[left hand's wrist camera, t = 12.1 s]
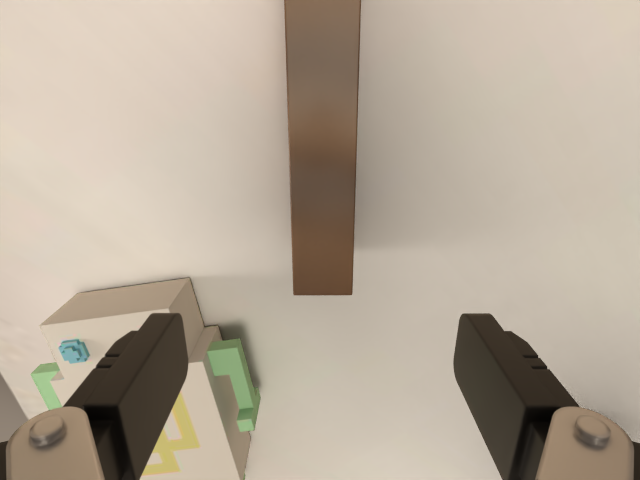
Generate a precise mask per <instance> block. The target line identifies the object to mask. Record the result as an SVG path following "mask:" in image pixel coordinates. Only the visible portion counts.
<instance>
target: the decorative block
mask: <svg viewBox="0 0 640 480" xmlns="http://www.w3.org/2000/svg"><path fill="white" fill-rule="evenodd" d="M152 313H180V314H181V316H182V319H183V325H184V332H185V339H186V346H187V352H188V372H187V377H186V380H185V382H184V384H183V386H182V389H181V391H180V393H179V395H178V397H177V399H176V402H175V404H174V406H173V408H172V410H171V413H170V415H169V417H168V419H167V421H166V423H165V426H164V428H163V430H162V432H161V434H160V436H159V439H158V441H157V443H156V445H155V447H154V449H153V452H152V454H151V456H150V458H149V460H148V463H147V465H146V467H145V469H144V471H143V473H142V476H141V478H140V480H245V467H246V462H247V457H248V452H249V446H250V441H251V438H250V434H249V431H252V430H255V424H256V419H257V414H258V409H259V404H260V398H261V397H260V393H259V389H258V387H254V388H253V385H252V381H251V377H250V373H249V370H248V366H247V362H246V359H245V355H244V351H243V347H242V344H241V340H240V338H239V339H231V340H224V341H222V337H221V334H220V330H219V327H218V325H217V326H210V327H204V324H203V321H202V317H201V314H200V311H199V307H198V304H197V301H196V298H195V294H194V291H193V288H192V284H191V281H190V278H184V279H176V280H169V281H162V282H155V283H148V284H141V285H134V286H127V287H119V288H112V289H105V290H98V291H91V292H84V293H77V294H76V295H75V296H74V297H73V298H71V299H70V300H69V301H68V302H67V303H65V304H64V305H63V306H62V307H61V308H60V309H58V310H57V311H56V312H55V313H54V314H53V315H51V316H50V317H49V318H48V319H47V320H45V321H44V322H43V323H42V324H41V325H40V326H39V327H40V329H41V331H42V333H43V335H44V337H45V339H46V341H47V344H48V346H49V348H50V350H51V352H52V354H53V356H54V358H55V360H56V362H55V363H48V364H40V365H39V366H38V367H37V368H36V369H35V370H34V371H33V372H32V373H31V376H32V378H33V380H34V382H35V384H36V386H37V388H38V390H39V392H40V394H41V396H42V398H43V399H44V401H45V403H46V405H47V407H48V409H49V410H52V409H55V408H60V407H63V406H64V404H65V403H66V402H67V401H68V399H69V398H70V397H71V396H72V395H73V393H74V392H75V391H76V390H77V388H78V387H79V386H80V385H81V383H82V382H83V381H84V380H85V378H86V377H87V376H88V375H89V373H90V372H91V371H92V370H93V368H96V365H97V364H98V362H99V361H100V360H101V359H102V357H105V354H106V352H107V351H108V350H109V349H110V347H111V346H112V345H113V344H114V342H115V341H117V340H118V339H120V338H121V337H123V336H124V335H126V334H127V333H129V332H130V331H138V330H139V329H140V327H141V326H142V325H143V323H144V322H145V321H146V319H147V318H148V317H149V315H150V314H152Z"/></svg>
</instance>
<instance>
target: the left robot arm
mask: <svg viewBox="0 0 640 480" xmlns="http://www.w3.org/2000/svg"><path fill="white" fill-rule="evenodd" d="M187 372H188V352H187V346H186V339H185V332H184V325H183V319H182V316H181V314H180V313H152V314H150V315H149V317H148V318H147V319H146V321H145V322H144V323H143V325H142V326H141V327H140V329H139V330H138V331H130V332H129V333H127V334H126V335H124V336H123V337H121V338H120V339H118V340H117V341H115V342H114V344H113V345H112V346H111V347H110V349H109V350H108V351H107V352H106V354H105V357H102V359H101V360H100V361H99V362H98V364H97V365H96V368H93V370H92V371H91V372H90V373H89V375H88V376H87V377H86V378H85V380H84V381H83V382H82V383H81V385H80V386H79V387H78V388H77V390H76V391H75V392H74V393H73V395H72V396H71V397H70V398H69V399H68V401H67V402H66V403H65V404H64V406H63V407H60V408H55V409H52V410H49V411H46V412H43V413H41V414H39V415H37V416H35V417H33V418H32V419H30V420H29V421H27V422H26V423H24V424H23V425H22V426H20V427H19V428H18V429H17V430H16V431H15V432H14V434H13V435H12V436H11V438H10V439H9V441H5V442H1V443H0V480H140V478H141V476H142V473H143V471H144V469H145V467H146V465H147V463H148V460H149V458H150V456H151V454H152V452H153V449H154V447H155V445H156V443H157V441H158V439H159V436H160V434H161V432H162V430H163V428H164V426H165V423H166V421H167V419H168V417H169V415H170V413H171V410H172V408H173V406H174V404H175V402H176V399H177V397H178V395H179V393H180V391H181V389H182V386H183V384H184V382H185V380H186V377H187ZM454 373H455V377H456V380H457V383H458V385H459V387H460V389H461V391H462V394H463V396H464V398H465V400H466V402H467V404H468V406H469V409H470V411H471V413H472V415H473V417H474V419H475V421H476V424H477V426H478V428H479V430H480V432H481V434H482V437H483V439H484V441H485V443H486V445H487V447H488V449H489V452H490V454H491V456H492V458H493V460H494V462H495V464H496V467H497V469H498V471H499V473H500V475H501V477H502V479H503V480H640V443H636V442H633V441H631V439H630V438H629V436H628V435H627V434H626V432H625V431H624V430H623V429H622V428H621V427H620V426H618V425H617V424H616V423H614V422H613V421H611V420H610V419H608V418H607V417H605V416H603V415H601V414H599V413H597V412H594V411H591V410H588V409H585V408H580V407H579V405H578V404H577V403H576V402H575V400H574V399H573V398H572V397H571V395H570V394H569V393H568V392H567V391H566V389H565V388H564V387H563V386H562V384H561V383H560V382H559V381H558V379H557V378H556V377H555V376H554V375H553V373H552V372H551V371H550V370H549V369H547V366H546V365H545V363H544V362H543V361H542V360H541V359H540V358H538V355H537V354H536V352H535V351H534V350H533V349H532V348H531V346H530V345H529V344H528V343H527V342H526V341H524V340H523V339H522V338H520V337H519V336H517V335H516V334H514V333H513V332H511V331H504V330H503V329H502V328H501V326H500V325H499V324H498V322H497V321H496V320H495V318H494V317H493V316H492V315H491V314H462V315H461V317H460V320H459V326H458V333H457V340H456V347H455V353H454Z"/></svg>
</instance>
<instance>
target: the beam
mask: <svg viewBox="0 0 640 480" xmlns="http://www.w3.org/2000/svg"><path fill="white" fill-rule="evenodd" d="M284 5H285V38H286V70H287V102H288V135H289V167H290V199H291V231H292V264H293V294H294V295H352V286H353V252H354V219H355V185H356V151H357V117H358V83H359V50H360V16H361V0H284Z"/></svg>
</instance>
